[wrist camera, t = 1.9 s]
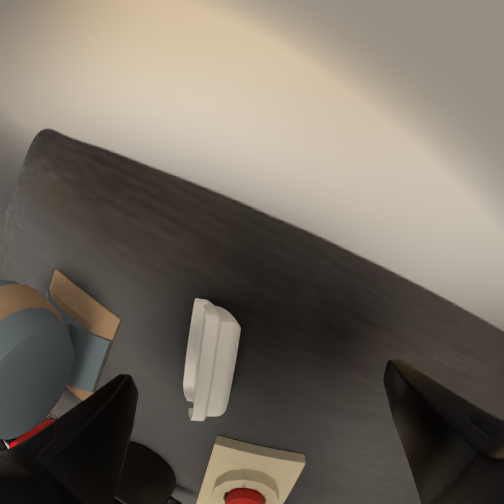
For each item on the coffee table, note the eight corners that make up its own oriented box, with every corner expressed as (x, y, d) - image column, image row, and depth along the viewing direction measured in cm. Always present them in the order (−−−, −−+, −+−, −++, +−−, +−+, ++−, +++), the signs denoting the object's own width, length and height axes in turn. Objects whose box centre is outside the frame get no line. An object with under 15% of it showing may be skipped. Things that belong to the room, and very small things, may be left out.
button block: (272, 512, 23) (271, 532, 20) (198, 496, 24) (192, 515, 21) (304, 453, 24) (307, 474, 20) (217, 434, 24) (210, 454, 21)
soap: (207, 311, 18) (250, 317, 19) (195, 293, 25) (227, 298, 25) (191, 427, 18) (229, 428, 19) (182, 386, 24) (212, 389, 25)
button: (257, 510, 21) (256, 520, 19) (223, 502, 21) (221, 513, 19) (267, 491, 21) (267, 502, 19) (231, 483, 21) (229, 494, 19)
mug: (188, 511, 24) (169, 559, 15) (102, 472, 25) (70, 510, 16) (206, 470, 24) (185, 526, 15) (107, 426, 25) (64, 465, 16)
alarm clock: (59, 260, 26) (-80, 257, 8) (125, 310, 25) (-30, 356, 8) (32, 361, 26) (-73, 399, 9) (88, 411, 25) (-13, 484, 8)
